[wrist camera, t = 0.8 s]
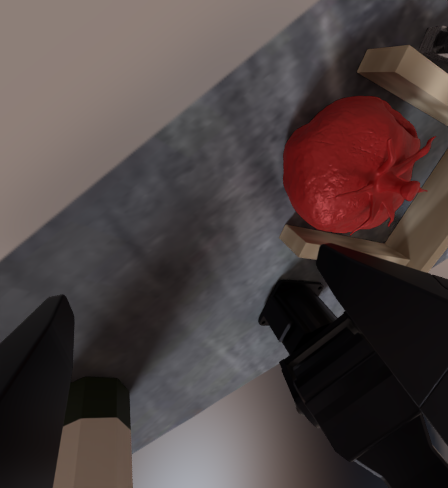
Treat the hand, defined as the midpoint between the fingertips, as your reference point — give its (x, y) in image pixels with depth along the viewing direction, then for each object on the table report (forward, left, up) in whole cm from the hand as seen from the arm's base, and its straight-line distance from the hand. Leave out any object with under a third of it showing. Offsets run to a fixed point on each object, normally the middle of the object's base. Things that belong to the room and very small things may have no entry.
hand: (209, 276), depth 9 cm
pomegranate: (-13, -4, -13) cm, 19 cm away
